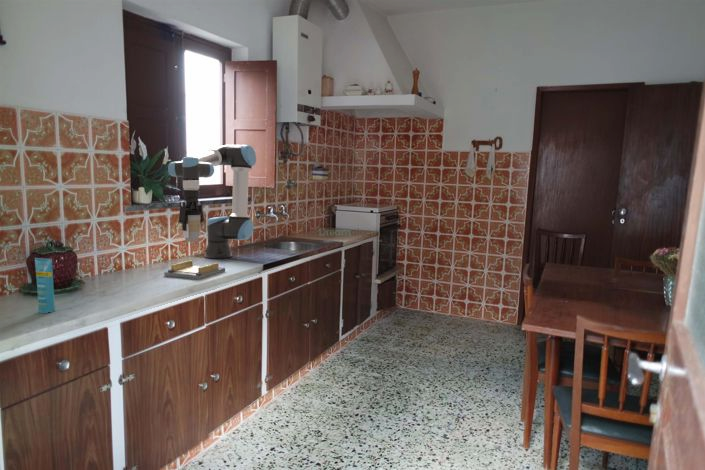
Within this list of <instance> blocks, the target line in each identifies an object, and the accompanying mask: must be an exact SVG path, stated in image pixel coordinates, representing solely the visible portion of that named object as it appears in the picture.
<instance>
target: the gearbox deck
mask: <svg viewBox="0 0 705 470" xmlns="http://www.w3.org/2000/svg"><path fill="white" fill-rule="evenodd" d="M219 265H220V264H219V262H214V263H211V264H206V265H199V264H198V265H197V264H194V262H193V260H192V259H190V260H186V261H182V262H178V263H175V264H174V263H173V264H171V266H170V267H171V268H170V269H168V270H167V271H164V272H163V276H164V277H168V278H175V279H176V278H177V279H186V280H188V279H189V280H195V281H201V280H204V279H207V278H211V277H213V276H217V275H220V274H222V273H226V268H225V267H220V266H219Z"/></svg>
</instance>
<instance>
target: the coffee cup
mask: <svg viewBox="0 0 705 470" xmlns="http://www.w3.org/2000/svg"><path fill="white" fill-rule="evenodd" d="M185 215H188V222H187V224H188V226H189V238H184V240H185V242H188V243H189V242H190V243H191V242H192V243H195V242H199V237H200V236H199V231H200V216H201V212H200V210H191V211H186V212H185Z"/></svg>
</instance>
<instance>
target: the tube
mask: <svg viewBox="0 0 705 470" xmlns="http://www.w3.org/2000/svg"><path fill="white" fill-rule="evenodd" d="M34 265H35V266H34V267H35V278H36V289H37V290H36V292H37V304H38V305H37V306H38V313H39V314H49V313H48V312H51V313H53V311H54V312H55V311H56V304H55V290H54V275H53V274H54V273H53V258H41V257H34Z"/></svg>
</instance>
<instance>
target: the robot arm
mask: <svg viewBox="0 0 705 470" xmlns="http://www.w3.org/2000/svg"><path fill="white" fill-rule="evenodd" d="M256 154H257V153H256V151H255V149H254V147H252V146H251V145H250V144H224V145H220V146H216V147H215V148H212V149H209V150H208V151H207V152H205V153H202V154H199V155H196V156H183V157H182V160H181V161H171V162H169V163H168V166H167V169H168V171H167V172H168V174H169V175H170V176H171V177H175V178H178V177H179V178H182V188H183V190H182V197H183V198H184V199H183V201H180V202H179V213H178V214H179V215H178V223H180V224H181V225H182V226H181V227H182V229H181V230H182V238H184V239H185V238H189V226H188V224H187V222H188V215H185V212H186V211H191V210H200V212H201V216H200V231H199V237H201V235H202V233H201V229H202V223H203V222H204V221H205V217H204V209H203V201H202V200H199V198H200V190H199V189H200V178H210V177H212V176H213V175H214V173H215V167H217V166H218V167H219V166H230V169H231V170H232V172H233V175H232V176H233V177H232V203H231V205H232V206H231V214H230V215H228V216H214V217H211V218H210V217H209V218H208V219H207V224H206V228H207V245H206V249H205V252H204V258H208V259H226V258H231V257H232V255H233V254H232V253H233V252H232V249H231V246H230V243H229V240H234V241H238V240H239V241H247V240H250V238H251V236H253V232H254V229H255V227H254V222H253V221H252V219H251V216H250V215H249V214H248V205H249V203H248V202H249V179H250V176H249V173H250V172H251V170H252V169H253V166H255V165H256V162H257V155H256Z"/></svg>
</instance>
